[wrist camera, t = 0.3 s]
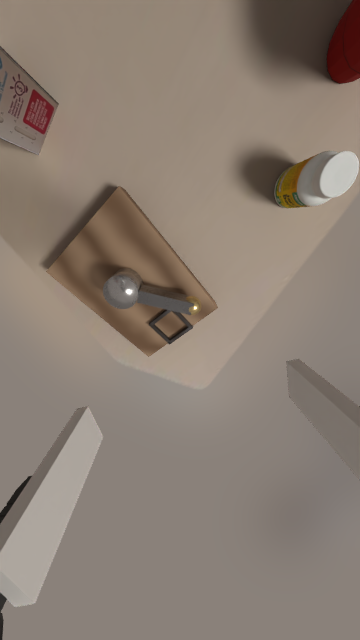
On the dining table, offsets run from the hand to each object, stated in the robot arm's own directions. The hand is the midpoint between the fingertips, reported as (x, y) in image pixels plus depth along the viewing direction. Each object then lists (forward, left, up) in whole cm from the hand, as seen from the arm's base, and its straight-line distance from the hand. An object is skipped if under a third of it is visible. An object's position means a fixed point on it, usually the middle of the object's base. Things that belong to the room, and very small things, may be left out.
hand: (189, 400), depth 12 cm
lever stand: (+6, -4, -26) cm, 27 cm away
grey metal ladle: (+3, -2, -23) cm, 23 cm away
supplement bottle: (-22, 0, -26) cm, 34 cm away
